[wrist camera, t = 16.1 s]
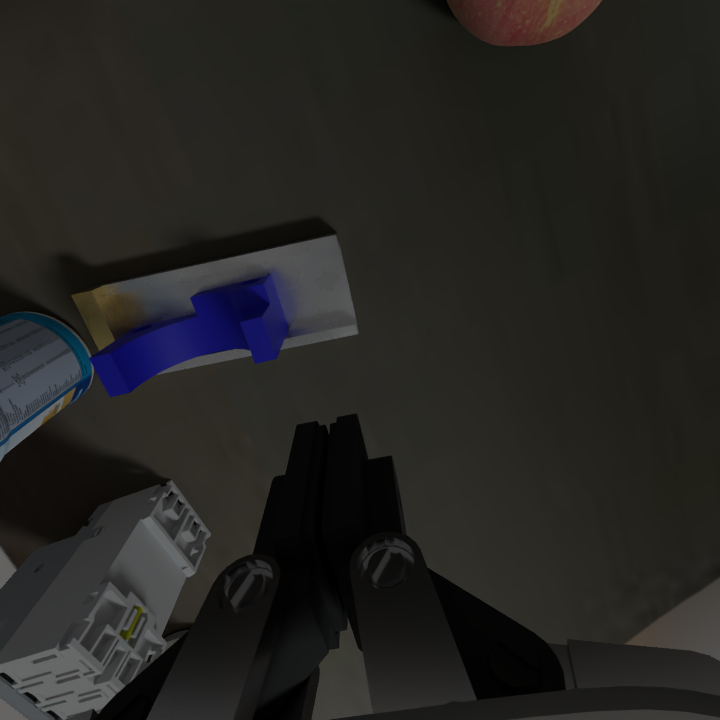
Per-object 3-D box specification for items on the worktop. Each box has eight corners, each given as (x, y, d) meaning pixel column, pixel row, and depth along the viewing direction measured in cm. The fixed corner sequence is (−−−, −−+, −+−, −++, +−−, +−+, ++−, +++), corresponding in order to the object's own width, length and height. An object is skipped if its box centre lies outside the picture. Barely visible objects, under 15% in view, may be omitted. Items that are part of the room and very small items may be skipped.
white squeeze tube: (358, 327, 33) (358, 341, 30) (137, 372, 34) (118, 389, 32) (336, 232, 30) (335, 237, 27) (95, 285, 31) (70, 295, 29)
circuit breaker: (47, 523, 41) (-107, 696, 27) (171, 479, 39) (73, 642, 25) (93, 571, 44) (-25, 750, 30) (211, 533, 42) (142, 706, 28)
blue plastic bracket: (271, 274, 31) (253, 294, 25) (289, 328, 33) (276, 358, 27) (124, 310, 32) (77, 337, 26) (149, 361, 34) (110, 397, 28)
